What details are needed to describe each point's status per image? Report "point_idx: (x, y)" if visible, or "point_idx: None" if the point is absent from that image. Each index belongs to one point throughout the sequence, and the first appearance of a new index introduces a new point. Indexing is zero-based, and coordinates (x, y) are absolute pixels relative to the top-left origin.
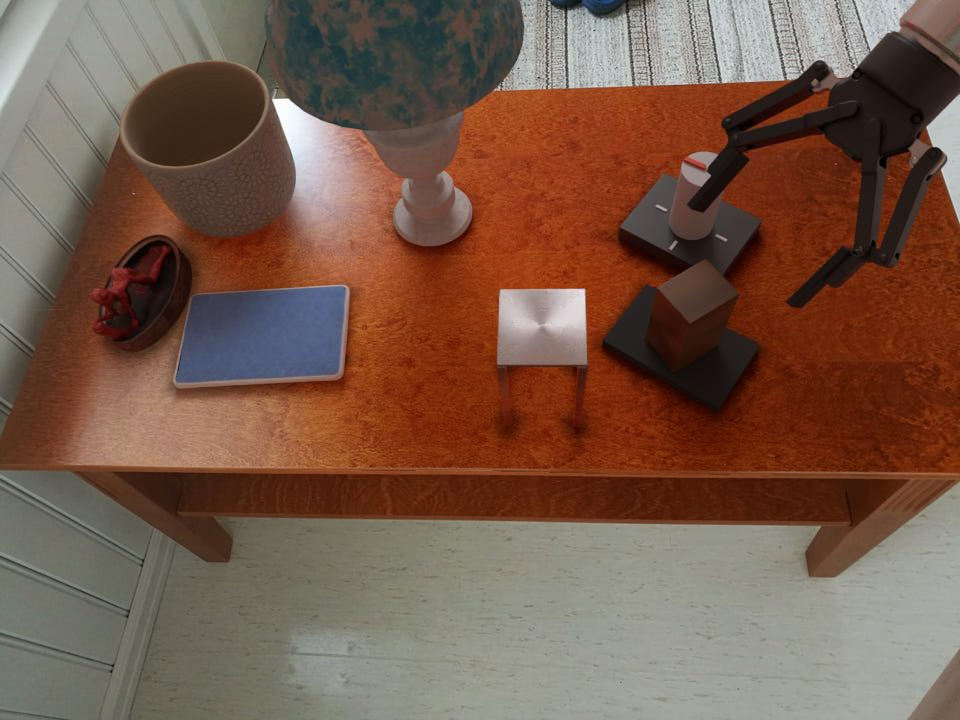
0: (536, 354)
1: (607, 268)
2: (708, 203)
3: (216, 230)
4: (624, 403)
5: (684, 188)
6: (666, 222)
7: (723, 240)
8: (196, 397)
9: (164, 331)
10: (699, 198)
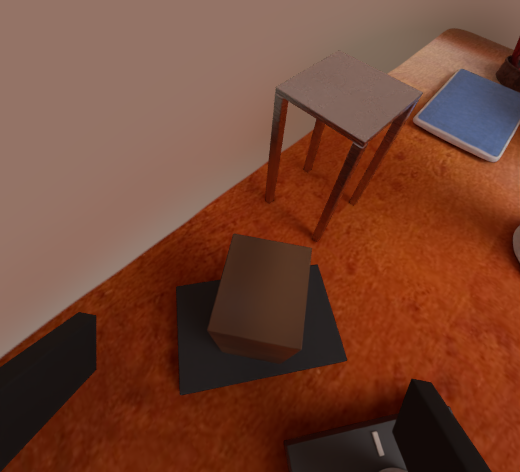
0: (323, 70)
1: (396, 351)
2: (407, 446)
3: None
4: None
5: None
6: None
7: None
8: (445, 77)
9: (505, 83)
10: (431, 406)
